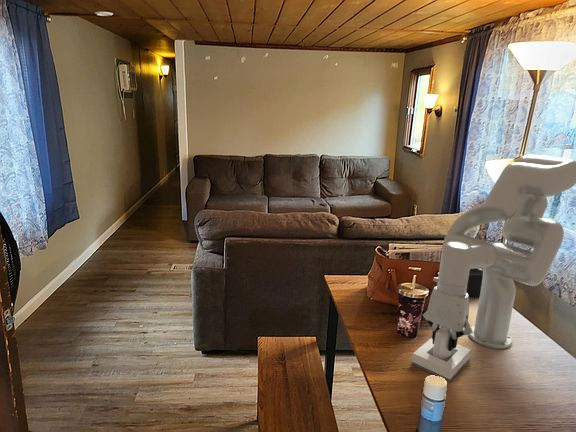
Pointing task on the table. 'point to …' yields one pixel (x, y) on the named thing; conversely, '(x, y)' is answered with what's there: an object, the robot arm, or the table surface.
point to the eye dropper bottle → (442, 343)
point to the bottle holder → (441, 360)
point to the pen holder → (474, 283)
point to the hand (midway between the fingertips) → (443, 345)
